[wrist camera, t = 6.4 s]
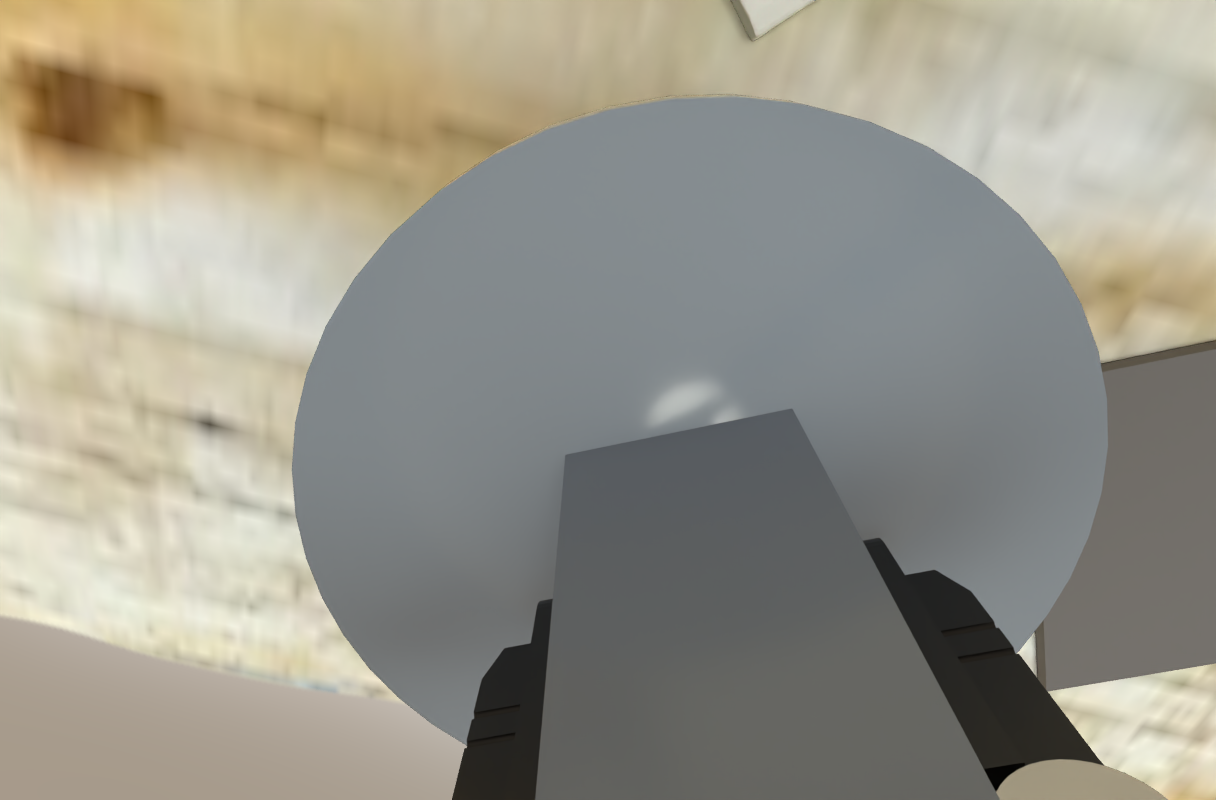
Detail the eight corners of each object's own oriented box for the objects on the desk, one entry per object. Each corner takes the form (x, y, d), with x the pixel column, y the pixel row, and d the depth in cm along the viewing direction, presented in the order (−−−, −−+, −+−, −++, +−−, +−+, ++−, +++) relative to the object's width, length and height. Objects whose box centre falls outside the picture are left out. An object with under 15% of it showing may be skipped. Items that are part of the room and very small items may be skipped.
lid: (1089, -12, 8) (2437, -173, 2) (1063, 699, 13) (1481, 1287, 7) (176, 211, 9) (-644, 527, 3) (450, 800, 14) (330, 1400, 8)
